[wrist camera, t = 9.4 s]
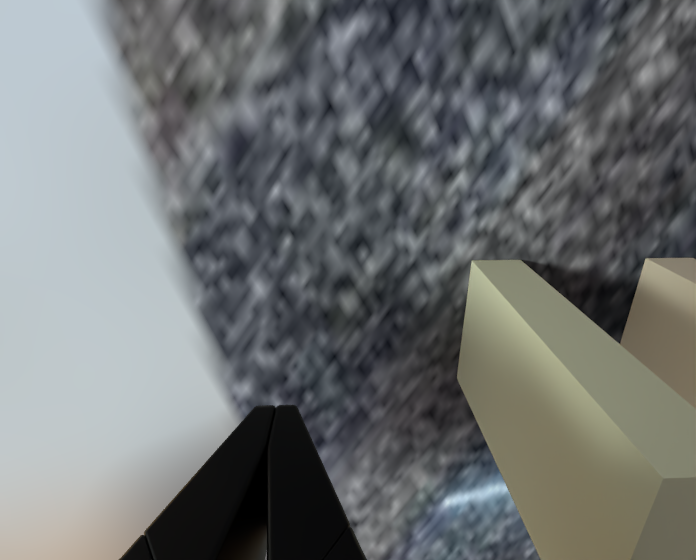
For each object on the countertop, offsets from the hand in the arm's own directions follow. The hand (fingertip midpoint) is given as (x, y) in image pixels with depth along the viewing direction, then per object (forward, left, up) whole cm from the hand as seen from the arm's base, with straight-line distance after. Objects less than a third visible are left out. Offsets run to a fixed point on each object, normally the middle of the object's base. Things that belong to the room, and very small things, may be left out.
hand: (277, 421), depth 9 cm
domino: (0, -6, -4) cm, 7 cm away
